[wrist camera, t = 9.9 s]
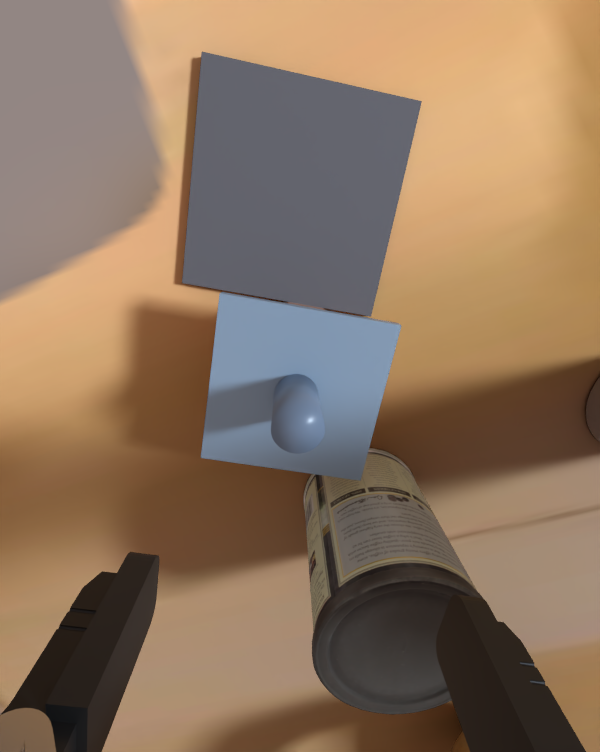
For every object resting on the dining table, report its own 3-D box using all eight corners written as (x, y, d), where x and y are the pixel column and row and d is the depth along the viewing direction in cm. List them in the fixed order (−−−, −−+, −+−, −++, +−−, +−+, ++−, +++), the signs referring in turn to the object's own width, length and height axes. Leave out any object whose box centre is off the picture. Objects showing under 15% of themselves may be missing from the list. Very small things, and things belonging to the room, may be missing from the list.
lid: (397, 323, 24) (429, 344, 19) (358, 474, 28) (376, 530, 22) (222, 291, 23) (201, 305, 18) (203, 452, 27) (181, 504, 21)
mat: (418, 104, 26) (421, 101, 25) (369, 315, 30) (370, 316, 29) (203, 56, 24) (201, 51, 24) (184, 282, 29) (182, 282, 28)
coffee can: (429, 524, 36) (513, 688, 23) (324, 557, 37) (344, 734, 23) (401, 429, 33) (479, 554, 19) (286, 467, 34) (285, 612, 20)
